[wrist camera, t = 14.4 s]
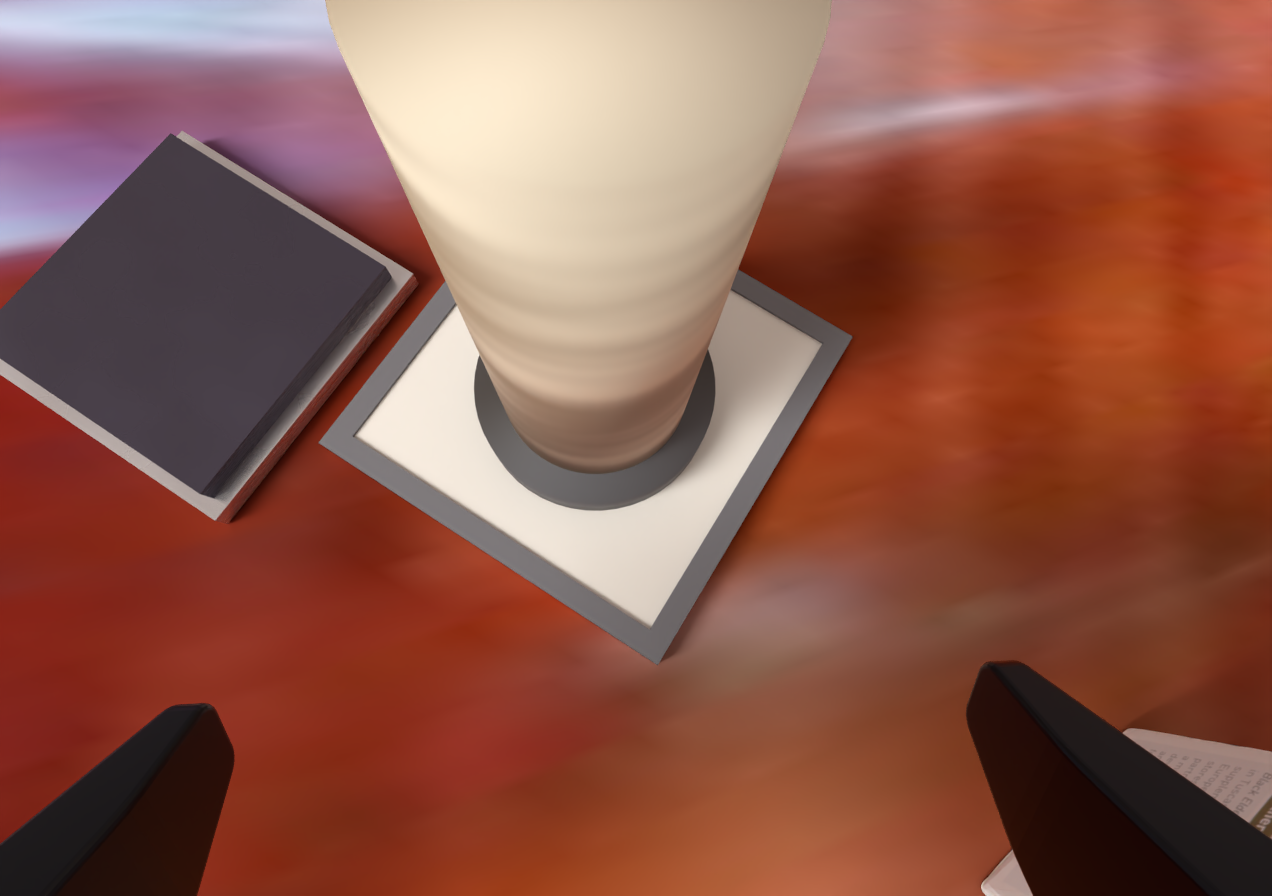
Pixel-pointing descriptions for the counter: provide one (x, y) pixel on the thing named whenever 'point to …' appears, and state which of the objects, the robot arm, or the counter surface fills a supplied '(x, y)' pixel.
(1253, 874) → the robot arm
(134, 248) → the ink pad
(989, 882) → the syrup box
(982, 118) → the counter surface
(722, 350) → the marked board
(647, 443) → the stamp
